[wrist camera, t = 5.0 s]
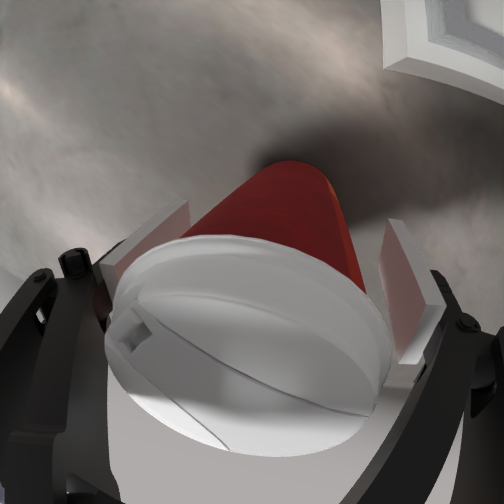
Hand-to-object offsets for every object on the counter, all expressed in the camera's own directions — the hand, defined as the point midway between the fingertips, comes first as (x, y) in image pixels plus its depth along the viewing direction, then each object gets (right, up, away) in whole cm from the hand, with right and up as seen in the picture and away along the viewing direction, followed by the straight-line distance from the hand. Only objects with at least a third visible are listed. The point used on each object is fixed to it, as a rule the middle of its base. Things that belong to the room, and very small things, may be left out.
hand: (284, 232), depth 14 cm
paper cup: (+1, +2, +4) cm, 4 cm away
